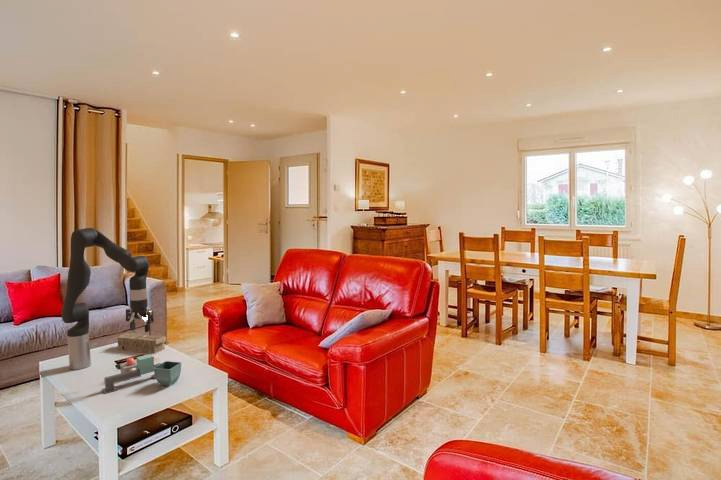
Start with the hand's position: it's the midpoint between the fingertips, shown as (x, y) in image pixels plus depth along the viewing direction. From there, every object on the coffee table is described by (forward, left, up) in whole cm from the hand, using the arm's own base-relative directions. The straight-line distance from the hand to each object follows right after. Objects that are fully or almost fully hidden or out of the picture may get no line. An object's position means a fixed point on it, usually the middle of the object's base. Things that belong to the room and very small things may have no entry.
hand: (140, 330), depth 198 cm
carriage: (+4, 0, -19) cm, 19 cm away
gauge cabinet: (-6, -4, -23) cm, 24 cm away
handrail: (+4, -5, -23) cm, 24 cm away
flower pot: (+16, +6, -24) cm, 29 cm away
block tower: (-44, +12, -24) cm, 52 cm away
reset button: (-6, -4, -19) cm, 20 cm away
